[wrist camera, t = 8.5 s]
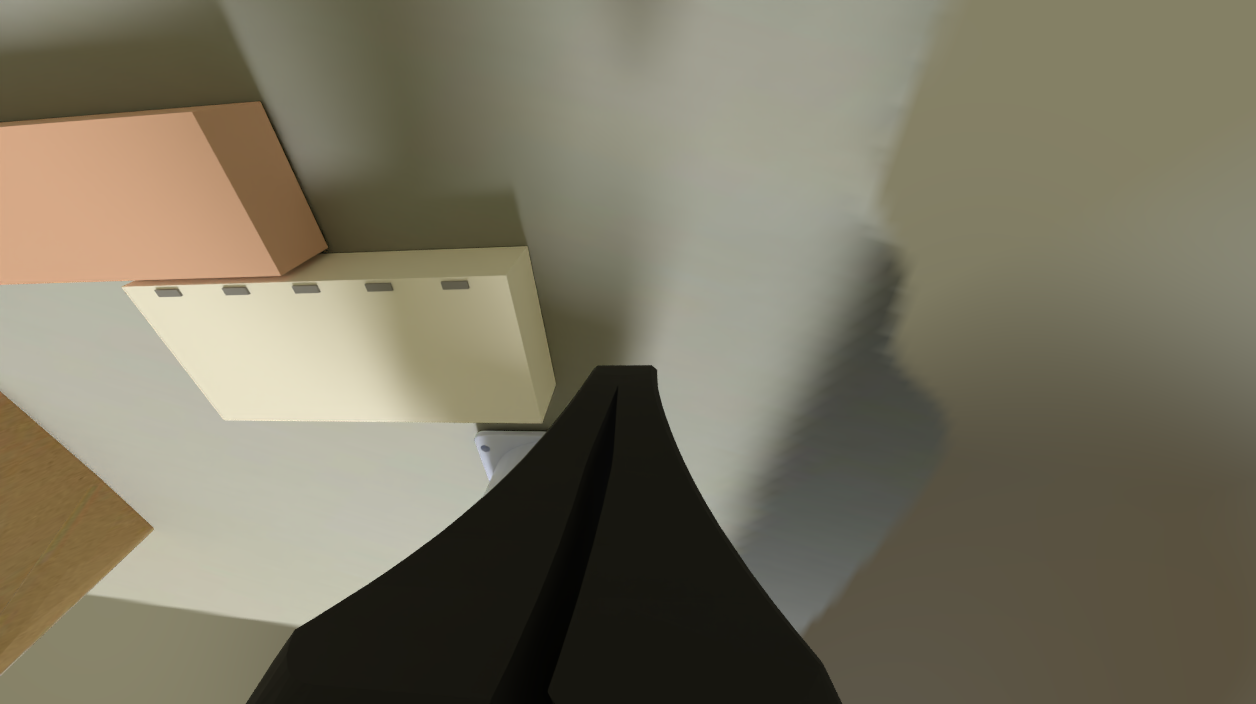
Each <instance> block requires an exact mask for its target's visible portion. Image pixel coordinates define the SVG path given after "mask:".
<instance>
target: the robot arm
mask: <svg viewBox="0 0 1256 704" xmlns="http://www.w3.org/2000/svg"><path fill="white" fill-rule="evenodd" d="M474 441H475V444H476V447H477V449H478V452H479V455H480V457H481V460H482V463H483V466H484V468H485V471H486V474H487V477H488V479H489V485H488V487H487V489H486V492H485V494H484V496H483V498H481V499H480V500H479V501H478V502H477V503H476V504H474V505H473V506H472V507H471V508H470V509H469V510H467V511H466V512H465V513H464V514H463V515H462V516H460V517H459V518H458V519H457V520H456V521H454V522H453V523H452V524H451V525H449V526H448V527H447V528H446V529H445V530H443V531H442V532H441V533H440V534H438V535H437V536H436V537H434V538H433V539H432V540H430V541H429V542H427V543H426V544H425V545H423V546H422V547H421V548H419V549H418V550H417V551H415V552H414V553H413V554H411V555H410V556H408V557H407V558H406V559H404V560H403V561H401V562H400V563H399V564H397V565H396V566H394V567H393V568H391V569H390V570H389V571H387V572H386V573H384V574H383V575H381V576H380V577H378V578H377V579H375V580H374V581H372V582H371V583H369V584H368V585H366V586H365V587H363V588H361V589H360V590H358V591H357V592H355V593H353V594H352V595H350V596H349V597H347V598H346V599H344V600H342V601H341V602H339V603H338V604H336V605H334V606H333V607H331V608H330V609H328V610H326V611H325V612H323V613H322V614H320V615H319V616H317V617H315V618H314V619H312V620H310V621H309V622H307V623H305V624H304V625H302V626H300V627H299V628H297V629H295V631H294V632H293V633H292V635H291V636H290V638H289V639H288V641H287V642H286V643H285V645H284V646H283V648H282V649H281V651H280V652H279V654H278V655H277V656H276V658H275V659H274V661H273V662H272V664H271V665H270V667H269V669H268V670H267V672H266V673H265V675H264V676H263V678H262V680H261V681H260V683H259V684H258V686H257V687H256V689H255V690H254V692H253V694H252V695H251V697H250V698H249V700H248V701H247V703H246V704H842V702H841V700H840V698H839V697H838V694H837V692H836V690H835V688H834V685H833V683H832V681H831V679H830V677H829V675H828V673H827V671H826V669H825V667H824V665H823V663H822V662H821V660H820V659H819V658H818V657H817V655H816V654H815V653H814V652H813V651H812V649H810V647H809V646H808V645H807V643H806V642H805V641H804V640H803V639H802V637H801V636H800V635H799V634H798V633H797V631H796V630H795V629H794V628H793V626H792V625H791V624H790V623H789V621H788V620H787V619H786V618H785V616H784V615H783V614H782V613H781V611H780V610H779V609H778V608H777V606H776V605H775V604H774V602H773V601H772V600H771V598H770V597H769V596H768V594H767V593H766V592H765V590H764V589H763V588H762V586H761V585H760V584H759V582H758V581H757V580H756V578H755V577H754V576H753V574H752V573H751V572H750V570H749V569H748V567H747V566H746V564H745V563H744V561H743V560H742V558H741V557H740V555H739V554H738V552H737V551H736V550H735V548H734V547H733V545H732V544H731V542H730V541H729V539H728V538H727V536H726V535H725V533H724V532H723V530H722V529H721V527H720V526H719V524H718V522H717V521H716V519H715V517H714V516H713V514H712V512H711V511H710V509H709V507H708V506H707V504H706V502H705V501H704V499H703V497H702V495H701V493H700V492H699V490H698V488H697V486H696V484H695V482H694V481H693V479H692V477H691V475H690V473H689V471H688V469H687V467H686V465H685V462H684V460H683V458H682V456H681V454H680V451H679V449H678V447H677V445H676V442H675V440H674V437H673V435H672V432H671V430H670V427H669V424H668V421H667V419H666V416H665V413H664V410H663V406H662V403H661V399H660V395H659V391H658V381H657V369H655V368H654V367H653V366H652V365H630V366H597V367H596V368H595V369H594V370H593V371H592V372H591V374H590V375H589V377H588V378H587V380H586V381H585V383H584V384H583V385H582V387H581V388H580V390H579V391H578V392H577V394H576V395H575V397H574V398H573V399H572V401H571V402H570V403H569V405H568V406H567V407H566V408H565V410H564V411H563V412H562V413H561V415H560V416H559V417H558V418H557V420H556V421H555V422H554V423H553V425H552V426H551V427H550V428H549V430H548V431H547V432H543V431H479V432H478V433H477V434H476V436H475V438H474ZM485 445H486V446H485Z"/></svg>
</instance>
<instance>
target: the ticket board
mask: <svg viewBox="0 0 1256 704" xmlns="http://www.w3.org/2000/svg"><path fill="white" fill-rule="evenodd" d="M122 288H123V290H124V291H125V292H126V294H127V295H128V296H129V297H130V299H131V300H132V301H133V303H134V304H135V305H136V307H137V308H138V309H139V310H140V312H141V313H142V314H143V316H144V317H145V318H146V320H147V321H148V322H149V323H150V325H151V326H152V327H153V329H154V330H155V331H156V333H157V334H158V335H159V336H160V338H161V339H162V340H163V342H164V343H165V344H166V346H167V347H168V348H169V349H170V351H171V352H172V353H173V355H174V356H175V357H176V358H177V360H178V361H179V362H180V364H181V365H182V366H183V368H184V369H185V370H186V371H187V373H188V374H189V375H190V377H191V378H192V379H193V381H194V382H195V383H196V384H197V386H198V387H199V388H200V390H201V391H202V392H203V394H204V395H205V396H206V397H207V399H208V400H209V401H210V403H211V404H212V405H213V407H214V408H215V409H216V410H217V412H218V413H219V414H220V416H221V417H222V418H223V420H250V421H350V422H449V423H543V420H544V417H545V414H546V411H547V408H548V406H549V403H550V400H551V397H552V394H553V392H554V389H555V386H556V382H555V377H554V372H553V367H552V362H551V358H550V353H549V348H548V343H547V338H546V333H545V328H544V324H543V319H542V314H541V309H540V304H539V299H538V295H537V290H536V285H535V280H534V275H533V270H532V265H531V261H530V256H529V251H528V246H519V247H492V248H465V249H438V250H411V251H384V252H357V253H330V254H317V255H315V256H313V257H312V258H310V259H308V260H307V261H305V262H303V263H302V264H300V265H298V266H297V267H295V268H293V269H292V270H290V271H288V272H287V273H285V274H283V275H282V276H260V277H228V278H196V279H164V280H135V281H133V282H131V283H129V284H127V285H124V286H122Z"/></svg>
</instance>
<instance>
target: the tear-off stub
mask: <svg viewBox="0 0 1256 704" xmlns="http://www.w3.org/2000/svg"><path fill="white" fill-rule="evenodd" d="M327 248H328V246H327V244H326V242H325V240H324V238H323V235H322V233H321V231H320V229H319V227H318V225H317V223H316V220H315V218H314V216H313V214H312V212H311V210H310V207H309V205H308V203H307V201H306V199H305V197H304V195H303V192H302V190H301V188H300V186H299V184H298V182H297V179H296V177H295V175H294V173H293V171H292V169H291V167H290V164H289V162H288V160H287V158H286V156H285V154H284V151H283V149H282V147H281V145H280V143H279V141H278V138H277V136H276V134H275V132H274V130H273V128H272V126H271V123H270V121H269V119H268V117H267V115H266V113H265V110H264V108H263V106H262V104H261V102H260V101H258V102H245V103H233V104H221V105H209V106H196V107H184V108H172V109H159V110H147V111H135V112H123V113H110V114H98V115H86V116H74V117H61V118H49V119H37V120H24V121H12V122H0V285H4V284H36V283H68V282H100V281H132V280H164V279H196V278H228V277H260V276H282V275H283V274H285V273H287V272H288V271H290V270H292V269H293V268H295V267H297V266H298V265H300V264H302V263H303V262H305V261H307V260H308V259H310V258H312V257H313V256H315V255H317V254H318V253H320V252H322V251H323V250H325V249H327Z"/></svg>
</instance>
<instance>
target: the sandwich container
mask: <svg viewBox="0 0 1256 704" xmlns="http://www.w3.org/2000/svg"><path fill="white" fill-rule="evenodd" d="M153 530H154V528H153V527H152V526H151V525H150V524H149V523H148V522H147V521H146V520H145V519H143V518H142V517H141V516H140V515H139V514H138V513H137V512H136V511H135V510H134V509H133V508H132V507H130V506H129V505H128V504H127V503H126V502H125V501H124V500H123V499H122V498H121V497H120V496H119V495H117V494H116V493H115V492H114V491H113V490H112V489H111V488H110V487H109V486H108V485H107V484H106V483H104V482H103V481H102V480H101V479H100V478H99V477H98V476H97V475H96V474H94V473H93V472H92V471H91V470H90V469H89V468H88V467H86V466H85V465H84V464H83V463H82V462H81V461H80V460H78V459H77V458H76V457H75V456H74V455H73V454H72V453H70V452H69V451H68V450H67V449H66V448H65V447H63V446H62V445H61V444H60V443H59V442H58V441H57V440H55V439H54V438H53V437H52V436H51V435H50V434H49V433H47V432H46V431H45V430H44V429H43V428H42V427H40V426H39V425H38V424H37V423H36V422H35V421H34V420H32V419H31V418H30V417H29V416H28V415H27V414H26V413H24V412H23V411H22V410H21V409H20V408H19V407H18V406H16V405H15V404H14V403H13V402H12V401H11V400H9V399H8V398H7V397H6V396H5V395H4V394H3V393H1V392H0V676H1V675H2V674H3V673H4V672H5V671H6V670H7V669H8V668H9V667H10V666H11V665H12V664H13V663H14V662H15V661H16V660H18V659H19V658H20V657H21V656H22V655H23V654H24V653H25V652H26V651H27V650H28V649H29V648H30V647H31V646H32V645H33V644H34V643H35V642H36V641H37V640H39V639H40V638H41V637H42V636H43V635H44V634H45V633H46V632H47V631H48V630H49V629H50V628H51V627H52V626H53V625H54V624H55V623H56V622H57V621H59V620H60V619H61V618H62V617H63V616H64V615H65V614H66V613H67V612H68V611H69V610H70V609H71V608H72V607H73V606H74V605H75V604H76V603H77V602H79V600H81V599H82V598H83V597H84V596H85V595H86V594H87V593H88V592H89V591H90V590H91V589H92V588H93V587H94V586H95V585H96V584H97V583H98V582H100V581H101V580H102V579H103V578H104V577H105V576H106V575H107V574H108V573H109V572H110V571H111V570H112V569H113V568H114V567H115V566H116V565H117V564H118V563H119V562H121V561H122V560H123V559H124V558H125V557H126V556H127V555H128V554H129V553H130V552H131V551H132V550H133V549H134V548H135V547H136V546H137V545H138V544H139V543H140V542H141V541H143V540H144V539H145V538H146V537H147V536H148V535H149V534H150V533H151V532H152V531H153Z"/></svg>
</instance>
